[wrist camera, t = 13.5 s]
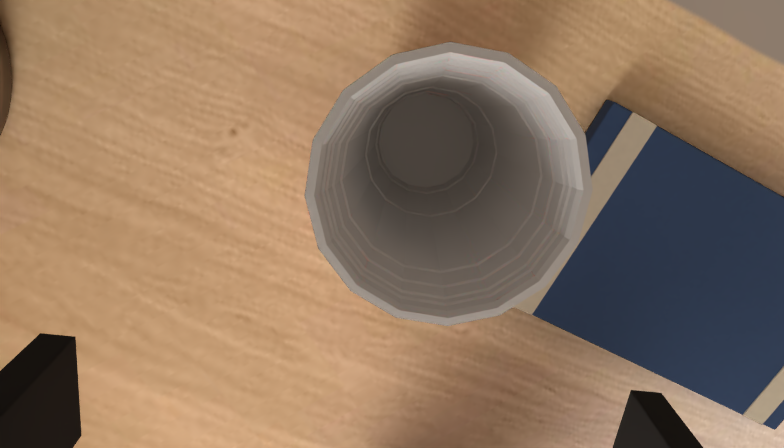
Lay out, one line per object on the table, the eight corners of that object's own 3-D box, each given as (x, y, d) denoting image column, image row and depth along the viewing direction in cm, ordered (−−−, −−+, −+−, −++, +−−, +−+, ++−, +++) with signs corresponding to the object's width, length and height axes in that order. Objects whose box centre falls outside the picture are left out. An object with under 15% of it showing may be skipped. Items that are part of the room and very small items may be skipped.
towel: (488, 287, 36) (492, 296, 34) (606, 98, 32) (615, 101, 31) (763, 418, 39) (776, 431, 38) (897, 263, 36) (916, 271, 34)
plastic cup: (527, 35, 31) (612, 39, 19) (516, 225, 34) (582, 322, 23) (325, 38, 31) (292, 44, 19) (334, 228, 34) (312, 329, 23)
